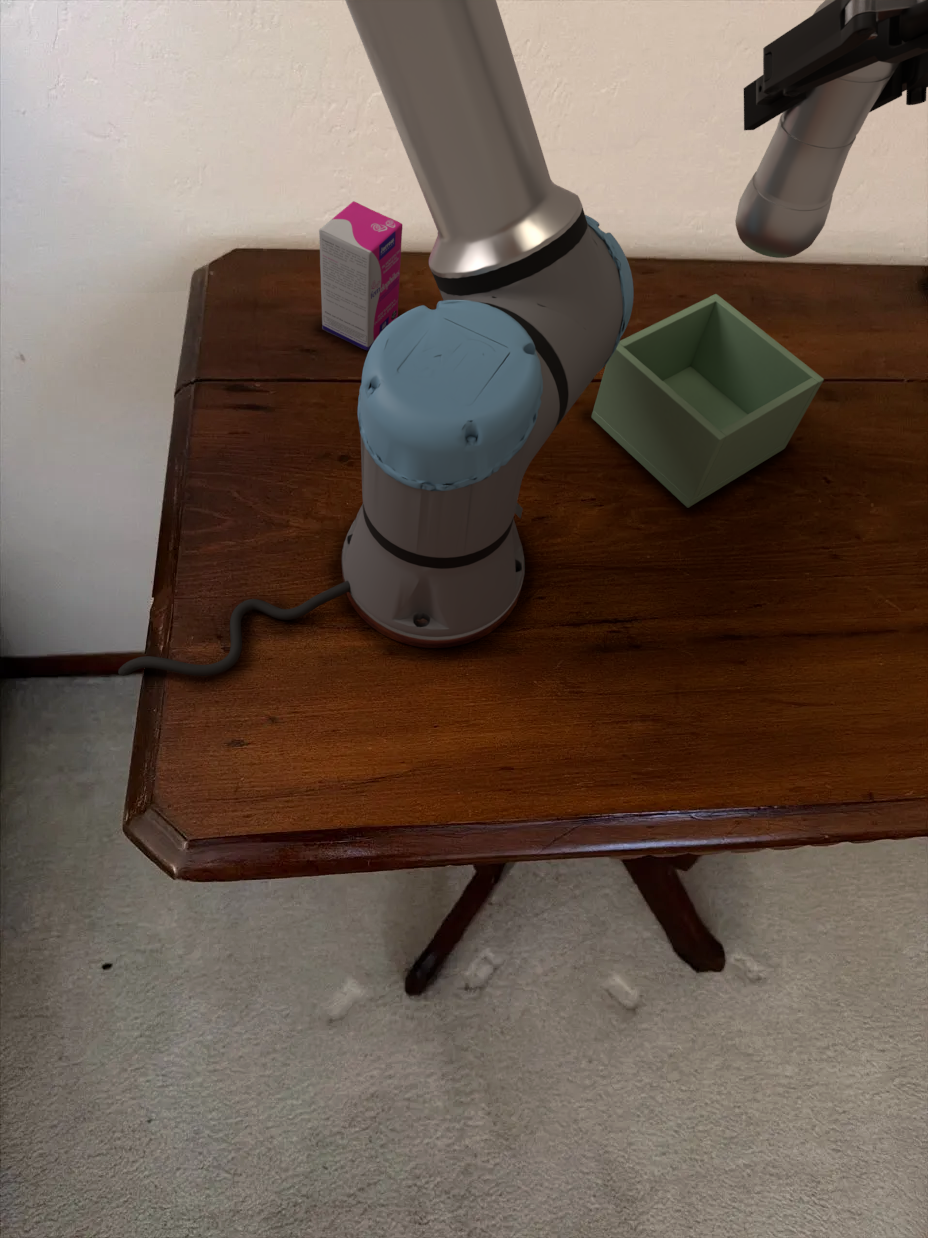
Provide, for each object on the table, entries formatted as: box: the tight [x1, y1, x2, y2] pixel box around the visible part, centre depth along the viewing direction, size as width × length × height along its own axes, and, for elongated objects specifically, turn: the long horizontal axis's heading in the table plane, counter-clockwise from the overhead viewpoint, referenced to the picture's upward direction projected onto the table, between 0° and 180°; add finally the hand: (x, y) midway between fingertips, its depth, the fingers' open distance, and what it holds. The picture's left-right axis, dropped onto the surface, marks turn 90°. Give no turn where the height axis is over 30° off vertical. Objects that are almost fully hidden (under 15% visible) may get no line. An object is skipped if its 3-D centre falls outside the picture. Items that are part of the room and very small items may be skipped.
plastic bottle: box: [734, 0, 905, 259], centre depth 60 cm, size 6×7×20 cm
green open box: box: [590, 293, 825, 508], centre depth 82 cm, size 14×14×9 cm
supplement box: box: [318, 201, 403, 351], centre depth 85 cm, size 6×6×12 cm
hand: (793, 107), depth 63 cm, fingers closed on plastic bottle, 6 cm apart
